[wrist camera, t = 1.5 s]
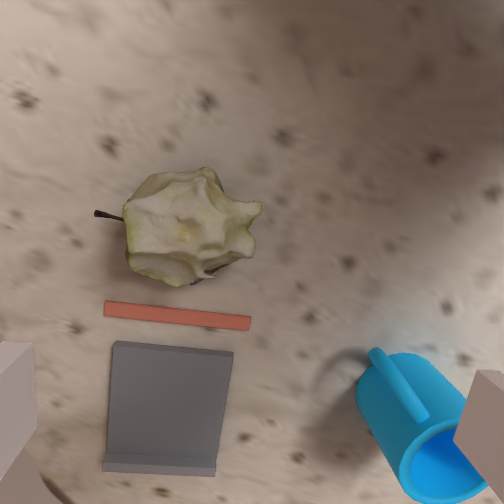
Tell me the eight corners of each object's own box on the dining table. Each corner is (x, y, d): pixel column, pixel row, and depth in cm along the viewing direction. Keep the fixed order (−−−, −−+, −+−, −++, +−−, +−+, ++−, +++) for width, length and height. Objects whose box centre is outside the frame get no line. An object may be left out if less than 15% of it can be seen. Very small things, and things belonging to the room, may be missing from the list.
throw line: (106, 300, 27) (104, 302, 27) (250, 316, 29) (251, 318, 29) (105, 313, 28) (104, 315, 27) (248, 329, 29) (248, 330, 29)
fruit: (118, 231, 27) (63, 234, 19) (194, 146, 27) (170, 112, 19) (202, 307, 28) (182, 340, 20) (278, 224, 27) (290, 224, 19)
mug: (450, 395, 33) (521, 469, 25) (379, 438, 34) (427, 522, 26) (397, 305, 30) (459, 358, 22) (320, 354, 31) (353, 422, 23)
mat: (116, 340, 28) (109, 352, 27) (233, 352, 30) (233, 364, 28) (108, 454, 32) (102, 471, 30) (214, 460, 33) (214, 477, 31)
